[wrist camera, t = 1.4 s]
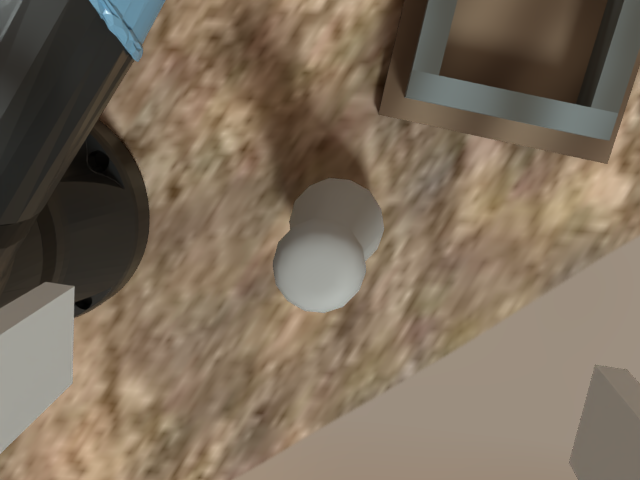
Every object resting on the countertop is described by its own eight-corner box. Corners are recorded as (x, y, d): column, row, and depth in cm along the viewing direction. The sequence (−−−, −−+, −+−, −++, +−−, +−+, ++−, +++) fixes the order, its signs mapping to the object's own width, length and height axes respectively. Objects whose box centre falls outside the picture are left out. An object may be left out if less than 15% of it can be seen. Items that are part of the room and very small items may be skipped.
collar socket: (378, 114, 37) (377, 115, 34) (434, -133, 34) (440, -160, 30) (602, 162, 36) (625, 168, 33) (683, -85, 33) (718, -108, 29)
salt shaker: (310, 161, 38) (272, 190, 26) (395, 188, 38) (399, 230, 25) (285, 245, 40) (238, 311, 27) (367, 271, 39) (357, 350, 27)
